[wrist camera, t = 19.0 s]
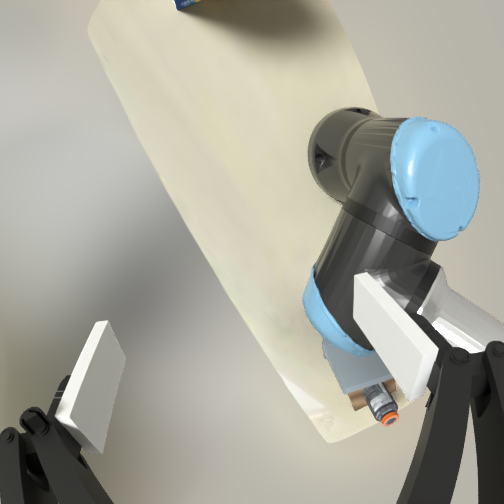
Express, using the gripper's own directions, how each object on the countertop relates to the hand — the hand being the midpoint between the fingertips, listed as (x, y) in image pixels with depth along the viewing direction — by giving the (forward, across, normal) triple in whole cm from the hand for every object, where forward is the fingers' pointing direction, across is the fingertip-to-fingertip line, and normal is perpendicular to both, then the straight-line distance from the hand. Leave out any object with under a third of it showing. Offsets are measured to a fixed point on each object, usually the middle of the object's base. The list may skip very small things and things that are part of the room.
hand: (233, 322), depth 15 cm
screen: (+32, +22, -33) cm, 51 cm away
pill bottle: (+31, +27, -51) cm, 65 cm away
